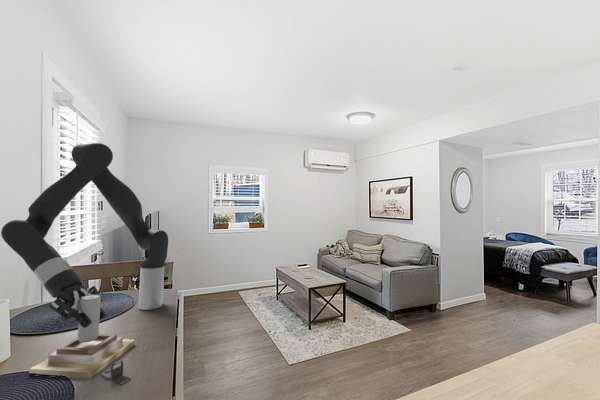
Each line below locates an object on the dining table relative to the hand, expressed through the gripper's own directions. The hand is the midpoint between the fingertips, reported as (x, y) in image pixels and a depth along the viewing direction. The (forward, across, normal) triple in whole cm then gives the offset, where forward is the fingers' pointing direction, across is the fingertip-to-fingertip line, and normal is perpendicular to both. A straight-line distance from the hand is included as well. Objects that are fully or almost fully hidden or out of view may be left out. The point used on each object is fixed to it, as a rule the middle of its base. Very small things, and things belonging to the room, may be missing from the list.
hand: (95, 321), depth 81 cm
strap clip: (+16, -8, -1) cm, 18 cm away
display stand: (+6, 0, +8) cm, 10 cm away
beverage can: (+2, 0, +5) cm, 6 cm away
